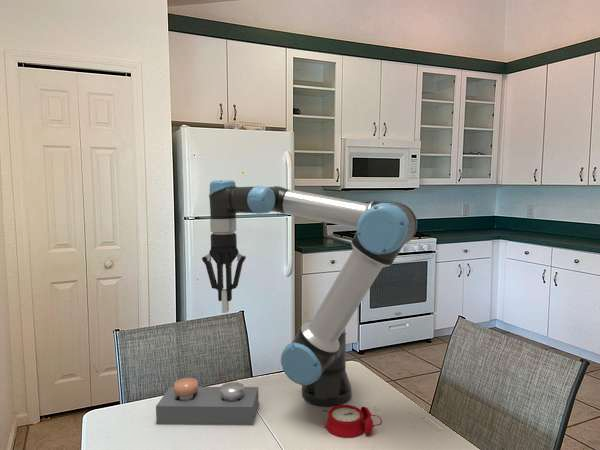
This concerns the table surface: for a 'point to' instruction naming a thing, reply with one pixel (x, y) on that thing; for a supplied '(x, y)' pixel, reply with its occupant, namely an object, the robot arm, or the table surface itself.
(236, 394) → the metal plunger
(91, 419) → the table surface
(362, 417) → the alarm clock
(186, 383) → the terracotta plunger
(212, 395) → the panel
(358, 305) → the robot arm
